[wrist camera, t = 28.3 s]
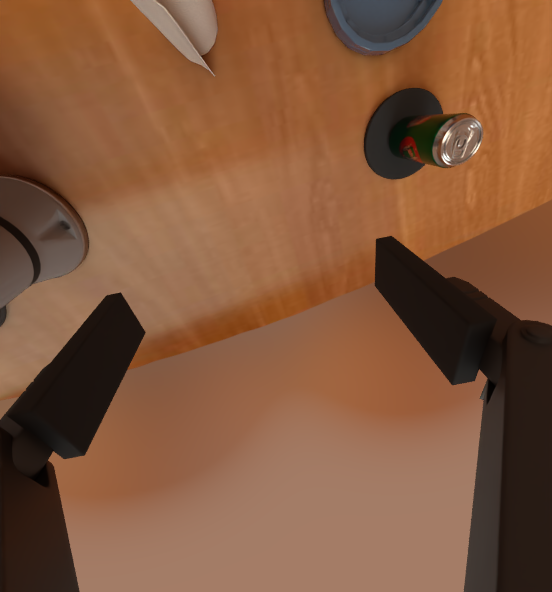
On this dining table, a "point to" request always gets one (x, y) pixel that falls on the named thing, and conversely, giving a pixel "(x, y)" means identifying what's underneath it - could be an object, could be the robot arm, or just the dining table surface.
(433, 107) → the coaster
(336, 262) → the dining table surface
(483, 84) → the dining table surface
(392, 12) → the dish
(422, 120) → the soda can
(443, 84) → the dining table surface
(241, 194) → the dining table surface
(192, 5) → the paper towel roll
